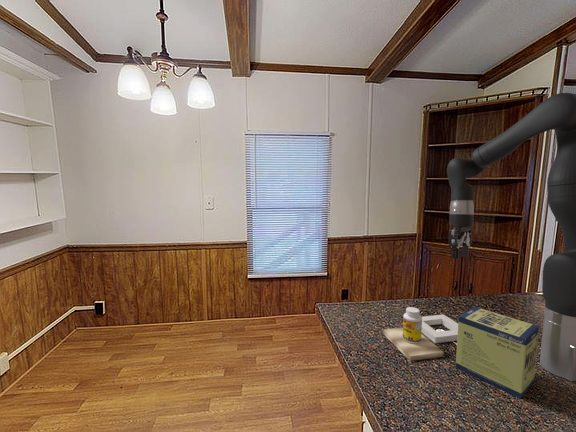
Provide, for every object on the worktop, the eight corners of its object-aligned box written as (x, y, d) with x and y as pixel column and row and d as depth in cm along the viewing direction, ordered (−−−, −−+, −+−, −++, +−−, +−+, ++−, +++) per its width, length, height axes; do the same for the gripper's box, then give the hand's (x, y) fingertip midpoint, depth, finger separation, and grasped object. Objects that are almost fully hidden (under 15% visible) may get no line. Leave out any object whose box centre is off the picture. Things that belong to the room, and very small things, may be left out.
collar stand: (472, 338, 98) (472, 332, 98) (435, 343, 95) (435, 337, 95) (443, 319, 111) (443, 314, 111) (409, 323, 109) (410, 317, 109)
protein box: (522, 400, 70) (527, 339, 68) (454, 367, 83) (457, 315, 81) (535, 382, 76) (540, 325, 75) (470, 354, 89) (473, 305, 87)
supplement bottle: (398, 336, 97) (399, 307, 95) (412, 334, 98) (414, 304, 97) (410, 345, 91) (411, 314, 90) (425, 342, 93) (426, 311, 92)
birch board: (443, 356, 88) (443, 351, 88) (410, 360, 86) (410, 356, 86) (411, 330, 104) (411, 326, 103) (383, 333, 102) (383, 329, 102)
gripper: (464, 213, 99) (463, 261, 99) (480, 214, 107) (479, 258, 107) (441, 212, 104) (440, 258, 104) (458, 213, 113) (457, 255, 113)
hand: (460, 258), depth 106 cm, fingers open, 8 cm apart
